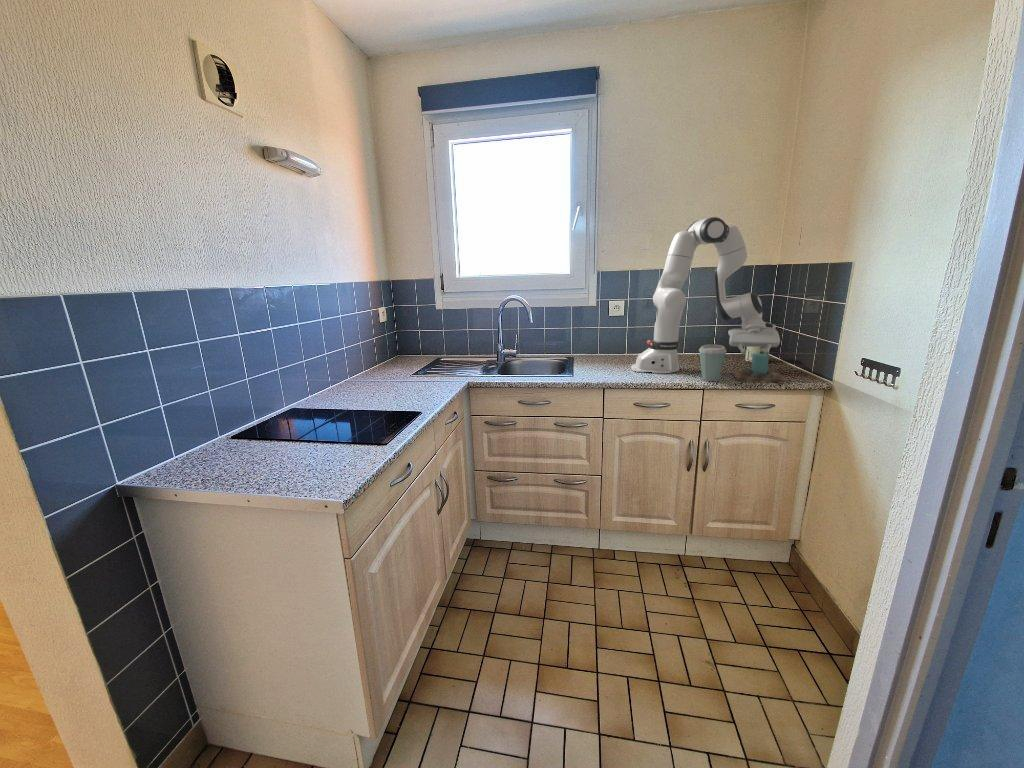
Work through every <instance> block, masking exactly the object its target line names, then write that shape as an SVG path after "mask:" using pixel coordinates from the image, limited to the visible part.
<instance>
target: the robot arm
mask: <svg viewBox="0 0 1024 768" xmlns="http://www.w3.org/2000/svg"><path fill="white" fill-rule="evenodd" d="M744 240H745V239H744V238H743V235H742V233H741V231H740V229H739V227H738V226H736V225H733V224H729V225H728V224H727V223H726V222H725V221H724V220H723V219H722V218H720V217H717V216H712V217H711V216H710V217H703V218H701V219H699V220H696V221H694V222H693V223H692V224H690V226H689V227H688V228H687V229H686V230H682V231H679V232H676V233H675V235H673V239H672V241H671V243H670V246H669V249H668V252H667V256H666V260H665V264H664V266H663V271H662V275H661V276H660V279H659V281H658V283H657V286H656V289H655V291H654V294H653V295H652V302H653V304H654V306H655V308H656V309H658V311H657V314H656V320H655V322H654V330H653V339H652V340H650V339H648V340H647V341H646V344H647V345H648V348H647V349H645V350H644V351H642V352H641V353H639V354H638V355H637V357H636V360H635V363H634V364H631V365H630V369H631V370H632V371H633V372H635V371H636V373H644V372H652V373H651V374H666V373H670V374H672V373H676V372H678V371H680V370H681V369H680V367H679V366H680V365H679V356H678V354H679V348H680V341H679V332H680V324H681V321H682V315H683V312H684V308H685V306H686V304H687V297H686V294H685V293H684V292H683V291H682V287H683V285H684V284H685V282H686V280H687V279H688V277H689V273H690V271H691V267H692V263H693V259H694V256H695V251H696V250H697V248H698V247H699V246H700V245H703V246H704V245H705V246H706V245H709V244H712V245H714V246H715V248H716V252H717V256H718V264H717V266H716V267H715V268H714V274H713V275H714V276H713V278H714V292H715V300H716V302H715V303H716V304H715V305H716V307H715V312H716V315H717V317H718V319H720V320H721V321H724V322H727V321H731V320H733V319H735V318H740V320H741V328H739V327H738V328H734V327H733V328H731V329H729V330H728V334H727V335H728V336H729V341H728V342H729V343H728V344H729V346H730V347H737V348H738V349H739V350H740V354H744V355H746V349H747V347H767V348H768V349H765V351H764V353H765V354H768V355H769V354H770V350H771V348H777V347H778V346H779V345H780V343H781V338H780V334H779V332H778V330H777V329H776V327H777V326H776V324H774V323H770V322H765V321H764V320H763V310H764V309H763V302H762V298H761V296H760V295H758V294H757V293H755V292H747V293H744V294H740V295H738V296H734V297H730V298H727V294H726V279H727V278H728V277H730V276H731V275H732V274H734V273H735V272H736V271H738V270H739V269H740V268H741V267H743V265H745V263H746V262H747V259H748V253H747V247H746V244H745V241H744ZM744 347H746V348H744Z"/></svg>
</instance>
